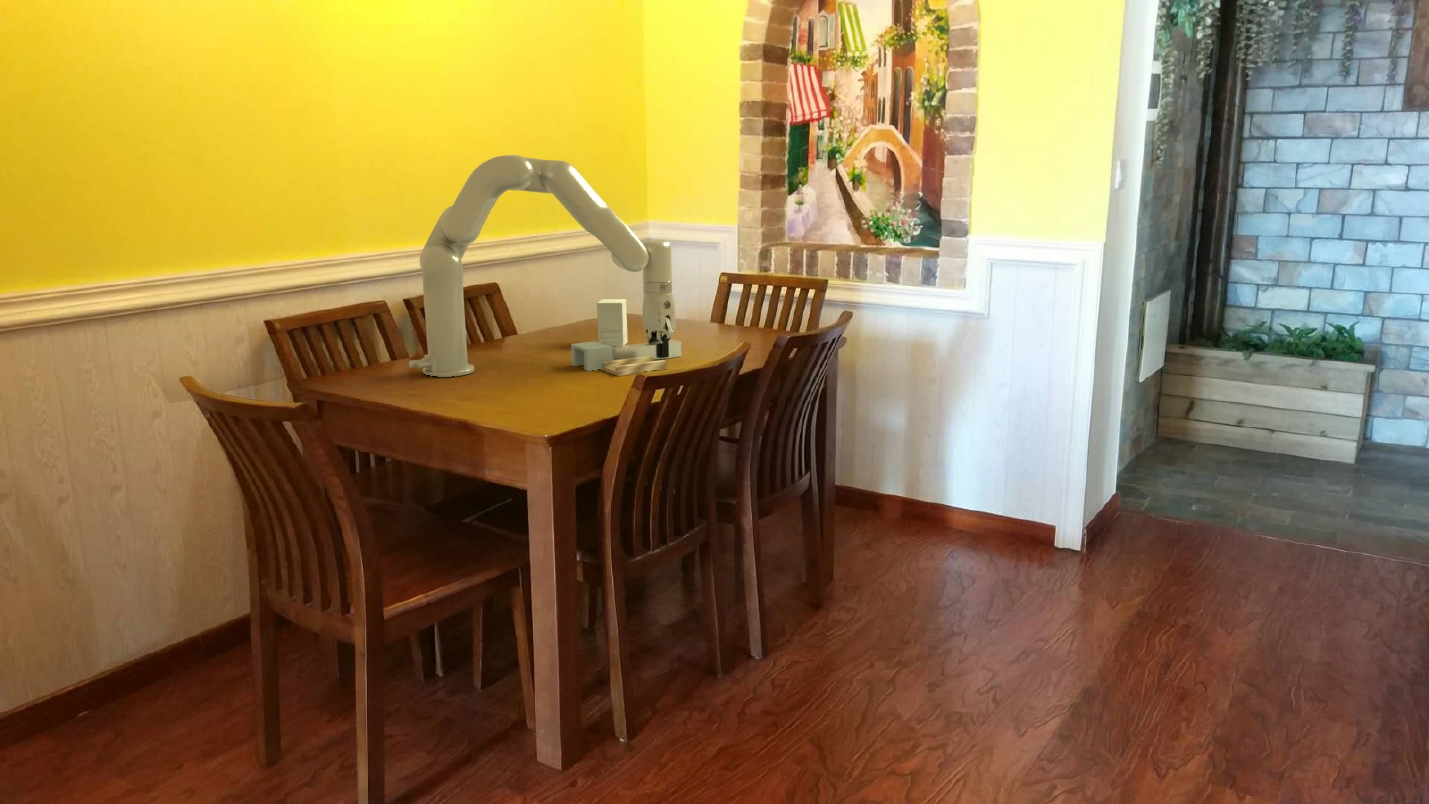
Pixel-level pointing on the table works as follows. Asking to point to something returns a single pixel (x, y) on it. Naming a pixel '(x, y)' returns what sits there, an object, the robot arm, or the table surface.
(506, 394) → the table surface
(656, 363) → the cradle
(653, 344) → the bar
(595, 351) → the grey arch block
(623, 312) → the supplement box
